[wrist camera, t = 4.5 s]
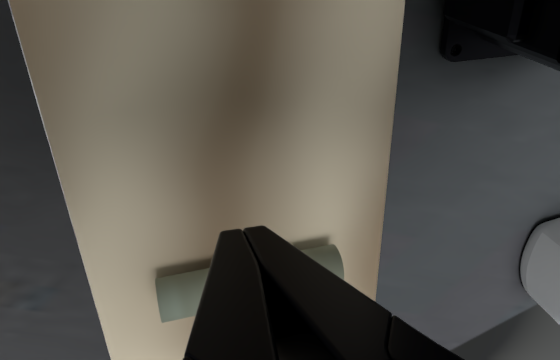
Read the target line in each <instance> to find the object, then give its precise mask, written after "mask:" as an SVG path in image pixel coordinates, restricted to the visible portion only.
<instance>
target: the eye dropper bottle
mask: <svg viewBox="0 0 560 360" xmlns="http://www.w3.org/2000/svg"><path fill="white" fill-rule="evenodd" d="M520 274H521V280H522V284H523V286H524V288H525V290H526V292H527V293H528V294H529V295H530V296H531V297H532V298H533V299H534V300H535V301H536V302H537V303H538V304H539V305H540V306H541V307H542V308H543V309H544V310H545V311H546V312H547V313H548V314H549V315H550V316H551V317H552V318H553V319H554V320H555V321H556V322H557V323H558V324H560V218H557V219H554V220H550V221H547V222H544V223H542V224H540V225H538V226H537V227H536V228H535V229H534V231H533V232H532V234H531V236H530V238H529V240H528V242H527V244H526V246H525V249H524V252H523V255H522V259H521V265H520Z"/></svg>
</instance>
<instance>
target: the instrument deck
mask: <svg viewBox="0 0 560 360" xmlns="http://www.w3.org/2000/svg"><path fill="white" fill-rule="evenodd" d="M9 3H10V7H11V10H12V14H13V17H14V21H15V24H16V28H17V31H18V35H19V38H20V42H21V45H22V49H23V52H24V56H25V59H26V63H27V66H28V70H29V73H30V77H31V80H32V84H33V87H34V91H35V94H36V98H37V101H38V105H39V108H40V112H41V115H42V119H43V122H44V126H45V129H46V133H47V136H48V140H49V143H50V147H51V150H52V154H53V157H54V161H55V164H56V168H57V171H58V175H59V178H60V182H61V185H62V189H63V193H64V196H65V200H66V203H67V207H68V210H69V214H70V217H71V221H72V224H73V228H74V231H75V235H76V238H77V242H78V245H79V249H80V252H81V256H82V259H83V263H84V266H85V270H86V273H87V277H88V280H89V284H90V287H91V291H92V294H93V298H94V301H95V305H96V308H97V312H98V315H99V319H100V322H101V326H102V329H103V333H104V336H105V340H106V343H107V347H108V350H109V354H110V357H111V360H183V358H184V354H185V350H186V347H187V343H188V340H189V336H190V333H191V330H192V326H193V323H194V319H195V316H196V312H197V309H198V305H199V302H200V298H201V295H202V292H203V288H204V285H205V281H206V278H207V274H208V271H209V267H210V264H211V260H212V257H213V254H214V250H215V247H216V243H217V240H218V236H219V233H220V232H221V231H224V230H232V229H241V230H242V231H243V229H244V228H246V227H254V226H261V225H263V226H266V227H267V228H269V229H270V230H272V231H273V232H275V233H276V234H278V235H279V236H280V237H282V238H283V239H285V240H286V241H288V242H289V243H291V244H292V245H294V246H295V247H296V248H298V249H299V250H301V251H302V252H304V253H305V254H307V255H308V256H309V257H311V258H312V259H314V260H315V261H317V262H318V263H320V264H321V265H323V266H324V267H325V268H327V269H328V270H330V271H331V272H333V273H334V274H336V275H337V276H339V277H340V278H341V279H343V280H344V281H346V282H347V283H349V284H350V285H352V286H353V287H354V288H356V289H357V290H359V291H360V292H362V293H363V294H365V295H366V296H368V297H369V298H370V299H372V300H373V301H375V298H376V288H377V278H378V268H379V258H380V248H381V238H382V228H383V218H384V208H385V198H386V188H387V178H388V168H389V158H390V148H391V138H392V128H393V118H394V108H395V98H396V88H397V78H398V68H399V58H400V48H401V38H402V28H403V18H404V8H405V0H9Z"/></svg>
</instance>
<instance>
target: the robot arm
mask: <svg viewBox="0 0 560 360" xmlns="http://www.w3.org/2000/svg"><path fill="white" fill-rule="evenodd" d="M444 15H445V19H444V26H443V33H442V40H441V47H440V53H441V55H442V57H443V58H445V59H446V60H448V61H451V62H458V61H467V60H476V59H485V58H493V57H502V56H511V55H521V56H524V57H526V58H529V59H531V60H534V61H536V62H539V63H541V64H544V65H546V66H548V67H551V68H553V69H556V70H558V71H560V0H445V7H444ZM455 44H456V49H455V51H454V52H453V53H451V48H452V47H453V46H454V45H455ZM183 360H464V359H462V358H461V357H459V356H458V355H456V354H454V353H452V352H451V351H449V350H447V349H446V348H444V347H442V346H441V345H439V344H437V343H436V342H434V341H433V340H431V339H430V338H428V337H427V336H425V335H424V334H422V333H421V332H419V331H417V330H416V329H414V328H413V327H411V326H410V325H408V324H407V323H406V322H404V321H403V320H401V319H400V318H398V317H397V316H392V313H391V312H389V311H388V310H386V309H385V308H383V307H382V306H381V305H379V304H378V303H376V302H375V301H373V300H372V299H370V298H369V297H368V296H366V295H365V294H363V293H362V292H360V291H359V290H357V289H356V288H354V287H353V286H352V285H350V284H349V283H347V282H346V281H344V280H343V279H341V278H340V277H339V276H337V275H336V274H334V273H333V272H331V271H330V270H328V269H327V268H325V267H324V266H323V265H321V264H320V263H318V262H317V261H315V260H314V259H312V258H311V257H309V256H308V255H307V254H305V253H304V252H302V251H301V250H299V249H298V248H296V247H295V246H294V245H292V244H291V243H289V242H288V241H286V240H285V239H283V238H282V237H280V236H279V235H278V234H276V233H275V232H273V231H272V230H270V229H269V228H267V227H266V226H263V225H261V226H254V227H246V228H244V229H243V231H242V230H241V229H232V230H224V231H221V232H220V233H219V236H218V240H217V243H216V247H215V250H214V254H213V257H212V260H211V264H210V267H209V271H208V274H207V278H206V281H205V285H204V288H203V292H202V295H201V298H200V302H199V305H198V309H197V312H196V316H195V319H194V323H193V326H192V330H191V333H190V336H189V340H188V343H187V347H186V350H185V354H184V358H183Z"/></svg>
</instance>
